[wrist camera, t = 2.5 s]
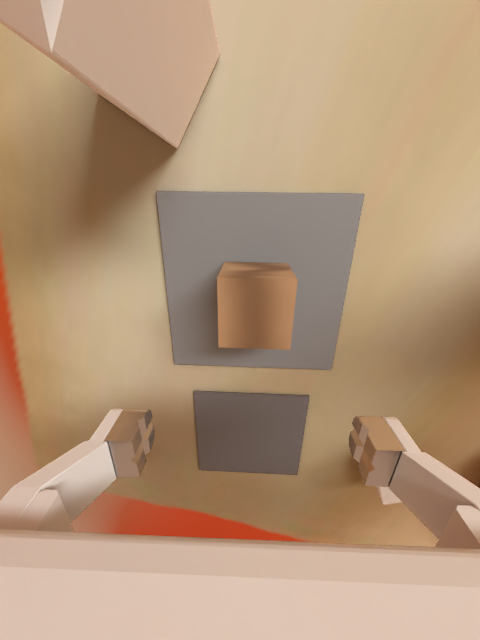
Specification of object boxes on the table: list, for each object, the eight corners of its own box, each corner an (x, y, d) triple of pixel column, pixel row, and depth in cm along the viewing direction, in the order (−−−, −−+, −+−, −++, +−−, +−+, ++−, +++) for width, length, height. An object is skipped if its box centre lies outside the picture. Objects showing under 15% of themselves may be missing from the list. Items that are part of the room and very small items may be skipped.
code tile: (363, 193, 22) (364, 193, 22) (330, 368, 30) (331, 370, 29) (157, 191, 23) (155, 191, 23) (175, 362, 30) (174, 364, 30)
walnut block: (287, 262, 25) (297, 279, 19) (282, 320, 27) (290, 349, 22) (224, 261, 25) (217, 277, 19) (225, 318, 27) (218, 347, 22)
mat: (308, 395, 31) (309, 397, 31) (296, 473, 37) (297, 475, 37) (194, 390, 32) (193, 392, 32) (199, 468, 38) (199, 470, 37)
